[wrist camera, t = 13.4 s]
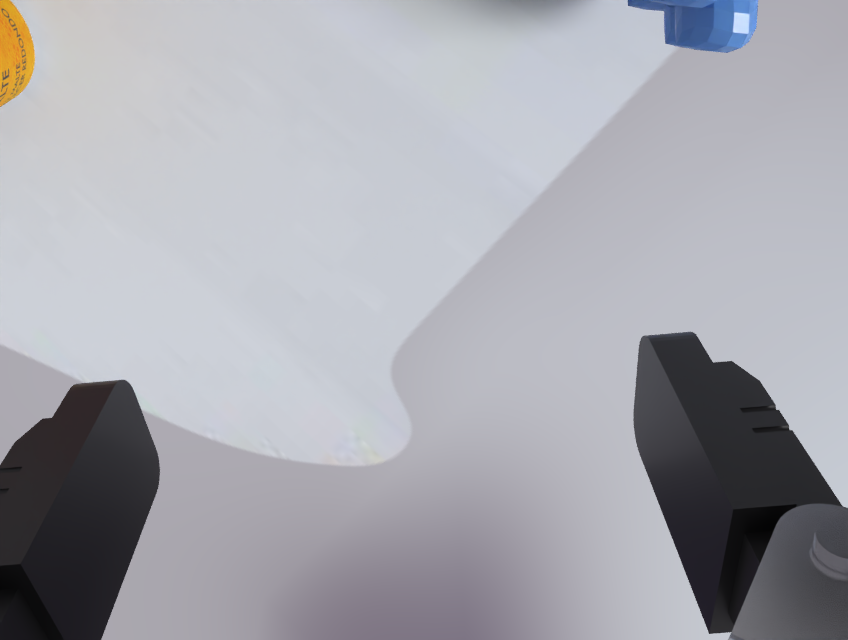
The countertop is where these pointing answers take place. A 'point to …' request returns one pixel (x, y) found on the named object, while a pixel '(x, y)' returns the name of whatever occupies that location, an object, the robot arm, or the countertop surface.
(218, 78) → the countertop surface
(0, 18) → the beer can
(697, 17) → the grapes
